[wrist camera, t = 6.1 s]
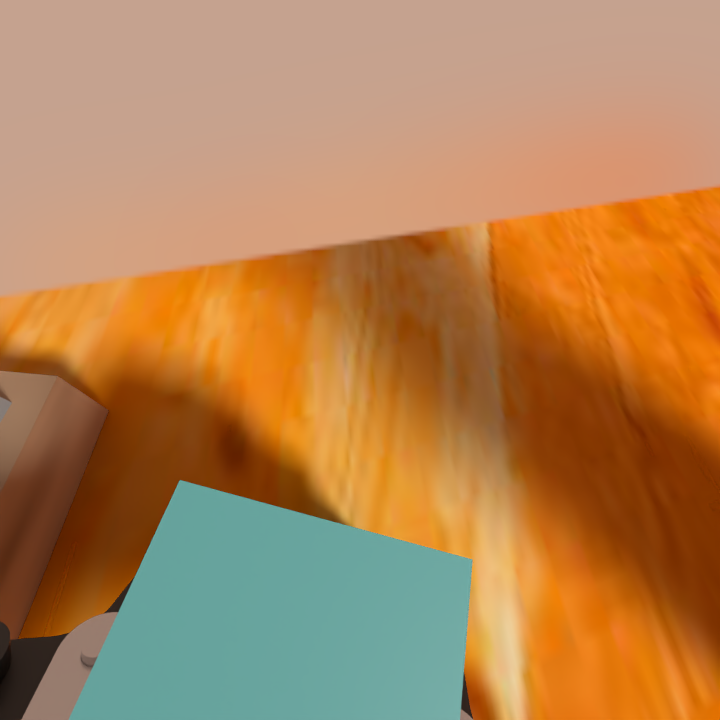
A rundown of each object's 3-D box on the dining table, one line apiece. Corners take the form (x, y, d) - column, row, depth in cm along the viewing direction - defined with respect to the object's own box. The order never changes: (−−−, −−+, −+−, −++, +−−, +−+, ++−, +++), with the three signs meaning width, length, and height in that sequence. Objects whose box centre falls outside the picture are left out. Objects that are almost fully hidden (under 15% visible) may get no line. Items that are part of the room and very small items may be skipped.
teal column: (376, 554, 14) (472, 559, 5) (346, 706, 12) (428, 1119, 3) (263, 523, 14) (179, 479, 6) (213, 669, 12) (-52, 978, 3)
